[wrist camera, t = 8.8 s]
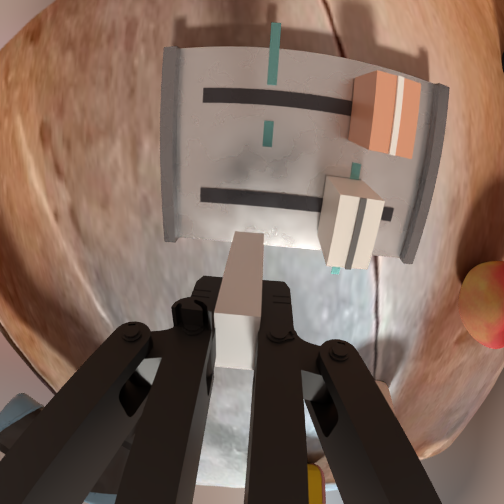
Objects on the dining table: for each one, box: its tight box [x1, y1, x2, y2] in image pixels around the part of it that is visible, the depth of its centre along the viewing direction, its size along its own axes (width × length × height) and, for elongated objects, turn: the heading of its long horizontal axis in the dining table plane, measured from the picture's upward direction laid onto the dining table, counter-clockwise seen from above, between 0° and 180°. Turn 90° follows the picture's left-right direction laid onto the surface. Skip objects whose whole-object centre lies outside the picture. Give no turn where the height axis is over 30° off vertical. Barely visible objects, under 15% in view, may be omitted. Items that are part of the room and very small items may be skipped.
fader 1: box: [348, 70, 421, 159], centre depth 16 cm, size 3×5×5 cm, turn 176°
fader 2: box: [317, 176, 385, 270], centre depth 20 cm, size 3×5×5 cm, turn 176°
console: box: [160, 22, 449, 274], centre depth 21 cm, size 22×20×3 cm
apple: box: [458, 261, 504, 349], centre depth 23 cm, size 10×10×10 cm
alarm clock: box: [307, 463, 326, 504], centre depth 47 cm, size 18×11×19 cm, turn 154°
